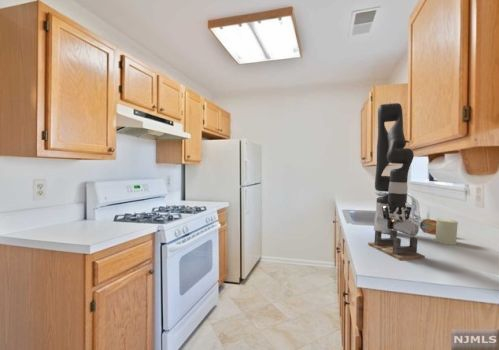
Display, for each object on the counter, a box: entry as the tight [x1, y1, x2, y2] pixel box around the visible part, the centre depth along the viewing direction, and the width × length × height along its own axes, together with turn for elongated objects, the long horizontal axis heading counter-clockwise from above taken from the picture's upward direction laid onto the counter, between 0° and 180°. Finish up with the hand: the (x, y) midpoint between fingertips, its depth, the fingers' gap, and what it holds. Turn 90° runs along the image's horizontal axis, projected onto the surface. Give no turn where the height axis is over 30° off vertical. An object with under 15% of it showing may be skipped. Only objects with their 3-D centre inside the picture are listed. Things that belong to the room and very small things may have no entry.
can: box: [434, 218, 459, 245], centre depth 140 cm, size 9×9×12 cm
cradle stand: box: [367, 229, 426, 261], centre depth 122 cm, size 20×13×8 cm, turn 12°
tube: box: [376, 215, 420, 237], centre depth 122 cm, size 20×5×5 cm, turn 12°
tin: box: [419, 218, 437, 236], centre depth 155 cm, size 15×3×8 cm, turn 33°
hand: (395, 228), depth 122 cm, fingers closed on tube, 5 cm apart
